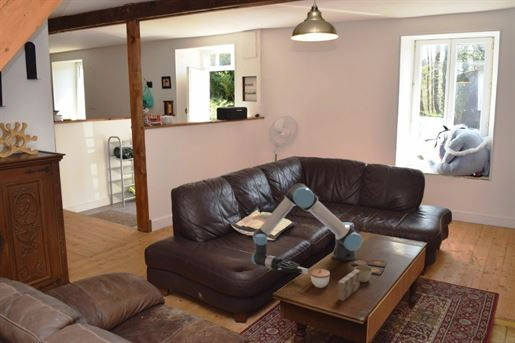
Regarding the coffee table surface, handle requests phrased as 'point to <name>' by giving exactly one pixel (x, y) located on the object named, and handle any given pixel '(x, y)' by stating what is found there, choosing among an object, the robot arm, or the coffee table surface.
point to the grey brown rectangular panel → (348, 285)
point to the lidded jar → (320, 277)
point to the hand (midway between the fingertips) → (307, 271)
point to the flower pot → (364, 272)
